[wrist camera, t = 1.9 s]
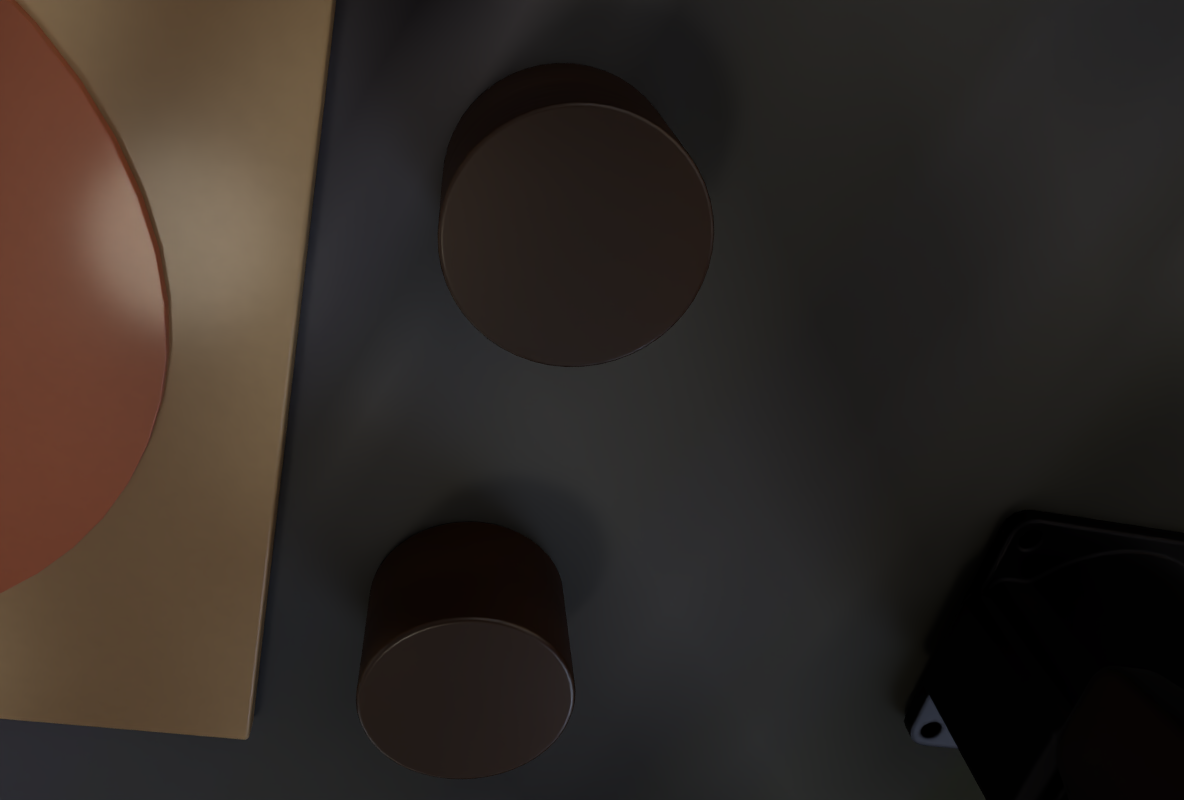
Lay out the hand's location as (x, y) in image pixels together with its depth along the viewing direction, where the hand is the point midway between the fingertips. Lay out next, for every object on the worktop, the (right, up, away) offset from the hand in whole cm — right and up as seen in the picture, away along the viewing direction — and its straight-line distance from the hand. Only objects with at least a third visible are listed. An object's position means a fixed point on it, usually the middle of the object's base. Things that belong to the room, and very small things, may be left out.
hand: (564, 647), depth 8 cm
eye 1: (-2, -2, +13) cm, 14 cm away
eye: (0, +6, +9) cm, 11 cm away
